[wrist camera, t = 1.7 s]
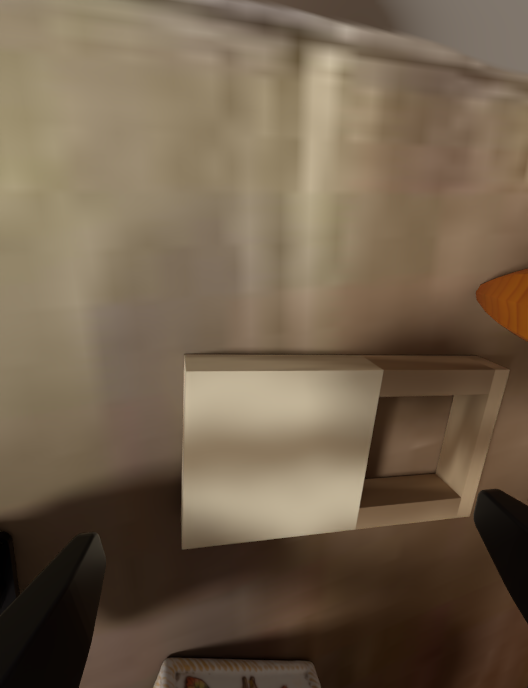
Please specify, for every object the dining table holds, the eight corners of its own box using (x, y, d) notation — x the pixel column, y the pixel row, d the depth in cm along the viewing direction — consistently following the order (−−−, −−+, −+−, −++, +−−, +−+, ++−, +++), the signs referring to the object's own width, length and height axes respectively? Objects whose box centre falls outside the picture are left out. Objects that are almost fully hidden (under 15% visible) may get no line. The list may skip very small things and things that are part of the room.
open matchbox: (443, 490, 26) (469, 516, 24) (180, 515, 22) (181, 549, 20) (476, 355, 24) (509, 369, 21) (184, 354, 19) (185, 371, 17)
